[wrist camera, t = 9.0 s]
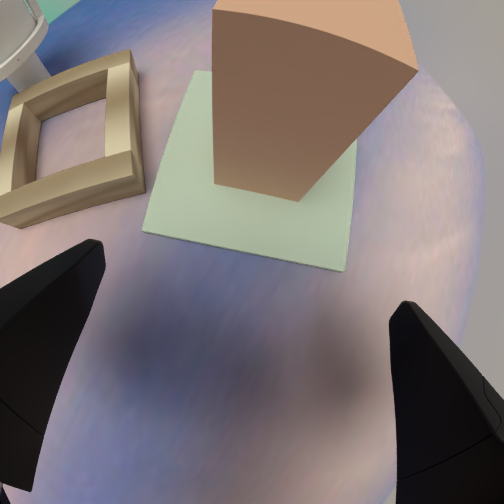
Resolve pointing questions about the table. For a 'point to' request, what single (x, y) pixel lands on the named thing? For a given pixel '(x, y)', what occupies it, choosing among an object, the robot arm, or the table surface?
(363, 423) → the table surface
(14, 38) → the white flanged cylinder housing
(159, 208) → the mat
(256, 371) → the table surface
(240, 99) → the block
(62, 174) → the pocket frame
